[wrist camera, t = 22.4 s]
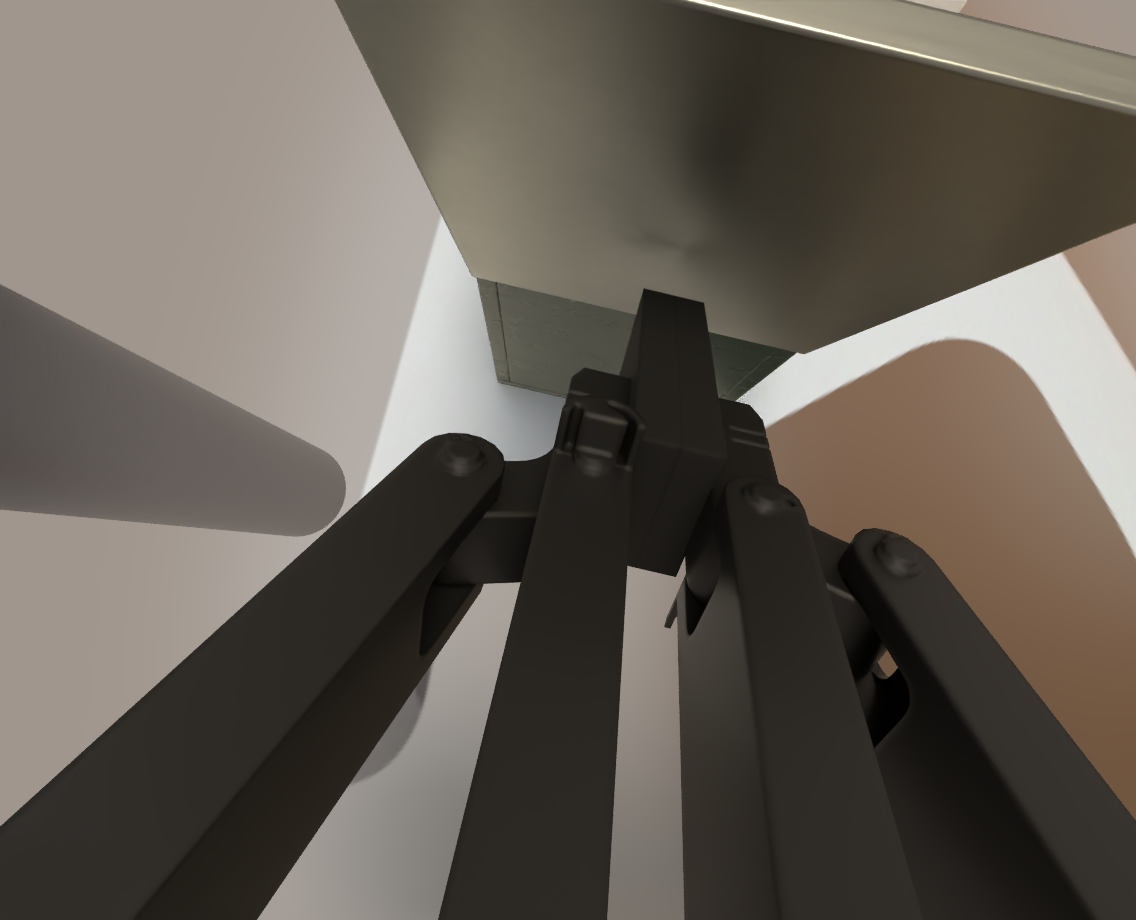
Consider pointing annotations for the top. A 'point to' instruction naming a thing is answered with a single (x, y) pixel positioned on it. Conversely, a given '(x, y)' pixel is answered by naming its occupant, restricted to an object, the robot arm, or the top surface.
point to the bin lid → (754, 150)
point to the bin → (592, 343)
